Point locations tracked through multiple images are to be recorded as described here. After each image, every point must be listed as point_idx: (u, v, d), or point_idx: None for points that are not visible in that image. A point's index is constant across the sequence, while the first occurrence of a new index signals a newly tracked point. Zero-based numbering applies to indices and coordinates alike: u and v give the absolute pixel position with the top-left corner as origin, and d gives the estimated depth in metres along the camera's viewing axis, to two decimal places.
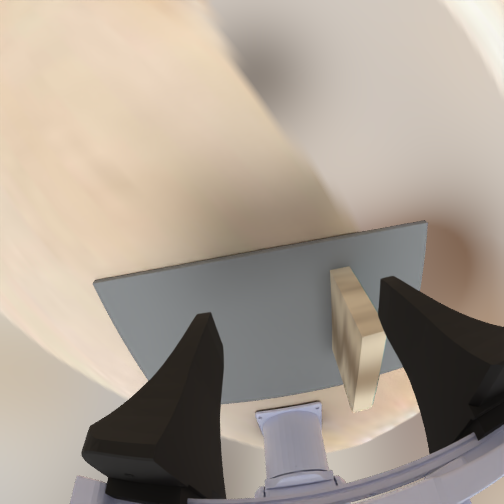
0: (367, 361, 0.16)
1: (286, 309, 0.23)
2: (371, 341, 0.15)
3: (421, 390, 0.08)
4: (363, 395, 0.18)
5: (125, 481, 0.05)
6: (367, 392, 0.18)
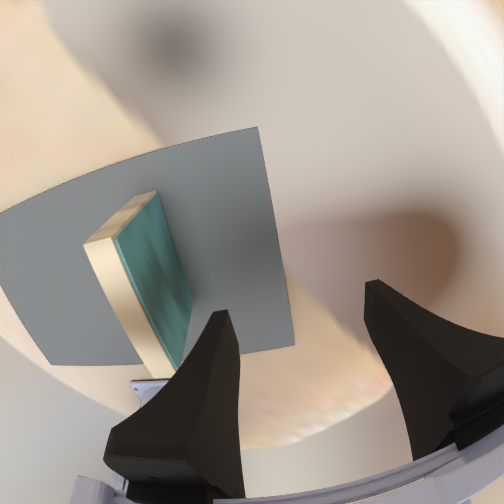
0: (112, 288, 0.12)
1: None
2: (98, 253, 0.12)
3: (404, 396, 0.08)
4: (146, 350, 0.14)
5: (147, 484, 0.05)
6: (149, 346, 0.14)
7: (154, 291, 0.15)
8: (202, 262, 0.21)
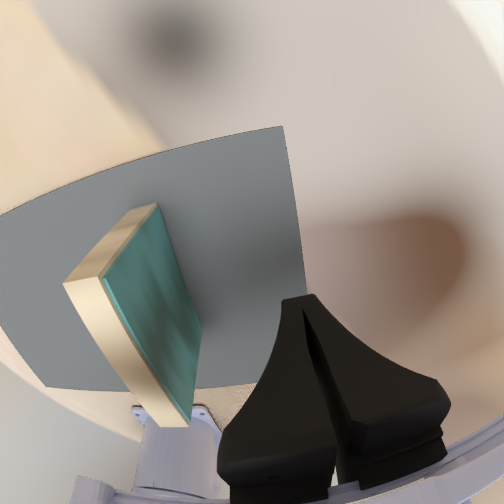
0: (103, 336, 0.09)
1: None
2: (82, 295, 0.08)
3: None
4: (151, 401, 0.11)
5: (254, 486, 0.05)
6: (154, 398, 0.11)
7: (157, 333, 0.11)
8: (212, 287, 0.17)
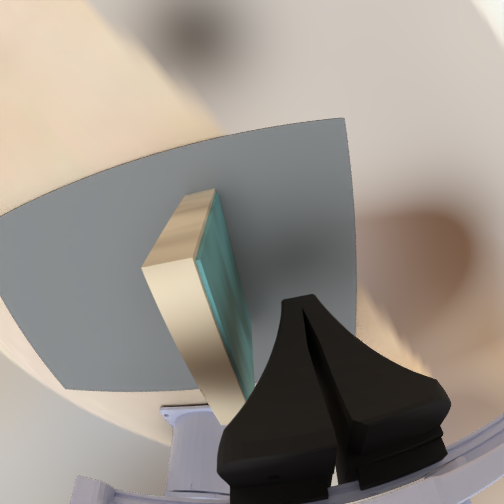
0: (184, 328, 0.09)
1: (139, 258, 0.16)
2: (167, 281, 0.08)
3: None
4: (220, 398, 0.11)
5: (254, 486, 0.05)
6: (225, 393, 0.11)
7: (232, 323, 0.11)
8: (266, 277, 0.17)
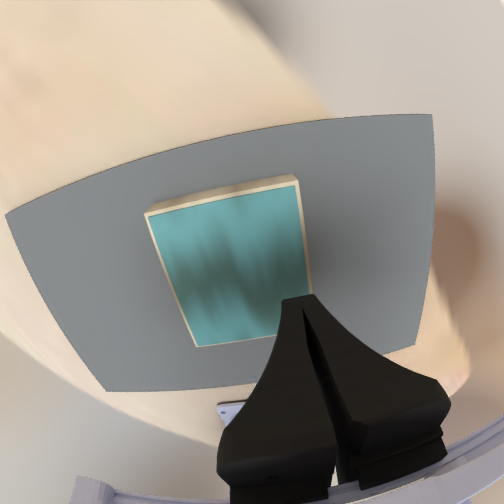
0: None
1: None
2: None
3: None
4: None
5: (254, 486, 0.05)
6: None
7: (198, 278, 0.15)
8: (359, 258, 0.17)
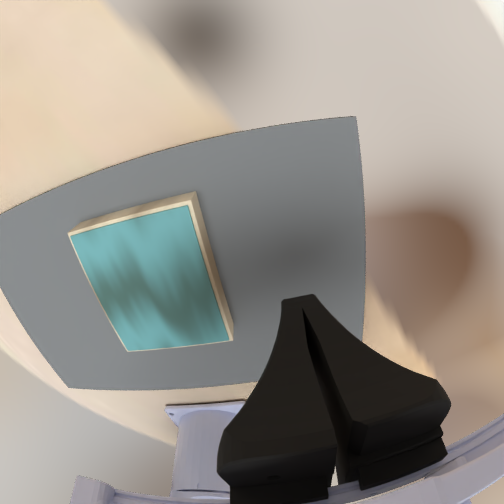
0: None
1: None
2: None
3: None
4: None
5: (254, 486, 0.05)
6: None
7: (116, 290, 0.15)
8: (277, 273, 0.17)
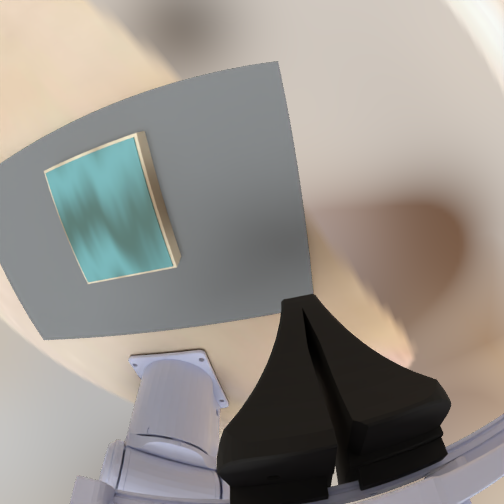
0: None
1: None
2: None
3: None
4: None
5: (254, 486, 0.05)
6: None
7: (78, 218, 0.17)
8: (216, 203, 0.19)
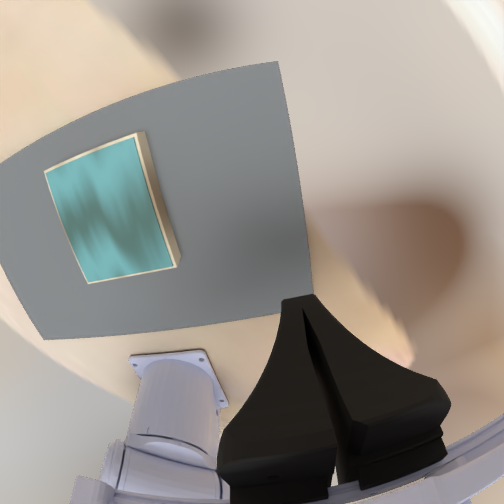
0: None
1: None
2: None
3: None
4: None
5: (254, 486, 0.05)
6: None
7: (78, 218, 0.17)
8: (216, 203, 0.19)
